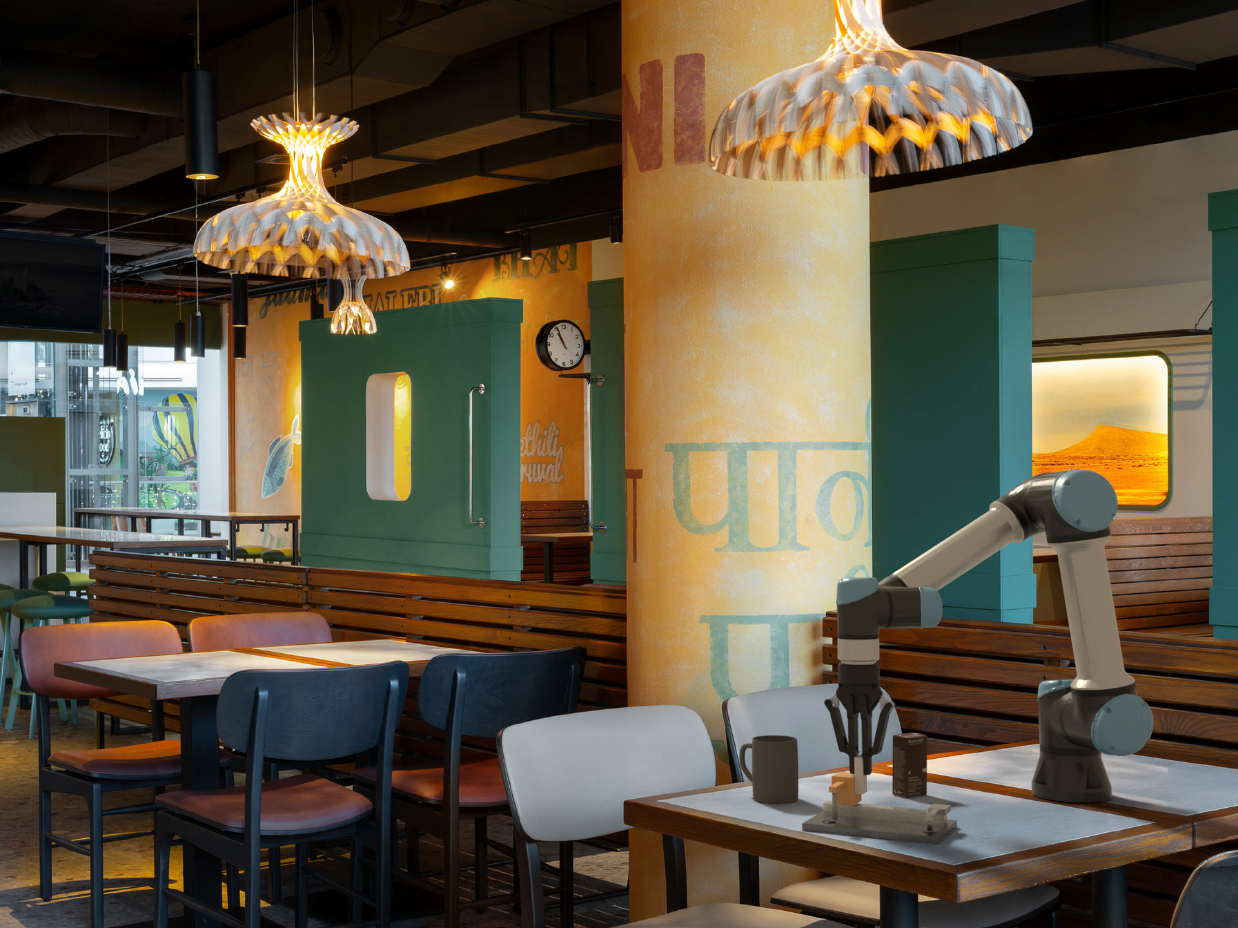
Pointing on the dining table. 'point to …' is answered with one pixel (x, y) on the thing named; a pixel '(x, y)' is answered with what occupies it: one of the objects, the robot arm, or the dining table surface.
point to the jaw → (843, 791)
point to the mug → (772, 768)
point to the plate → (879, 828)
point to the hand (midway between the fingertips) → (861, 792)
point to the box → (909, 765)
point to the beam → (894, 813)
